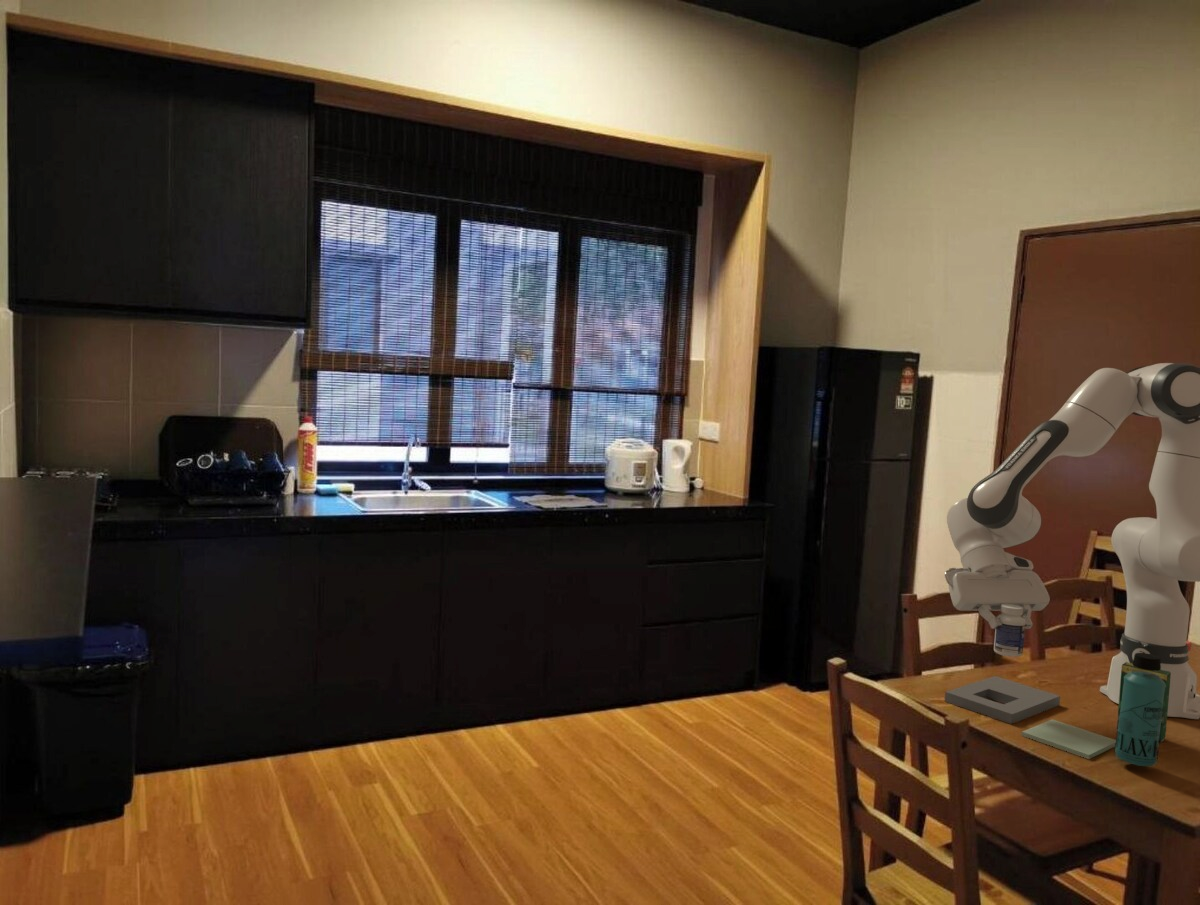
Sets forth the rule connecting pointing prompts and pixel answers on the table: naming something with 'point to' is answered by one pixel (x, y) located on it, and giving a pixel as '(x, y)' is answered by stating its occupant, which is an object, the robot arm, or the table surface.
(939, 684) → the table surface
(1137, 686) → the beverage bottle
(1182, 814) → the table surface
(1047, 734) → the mat
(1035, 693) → the frame
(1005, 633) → the pill bottle
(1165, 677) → the coffee box
